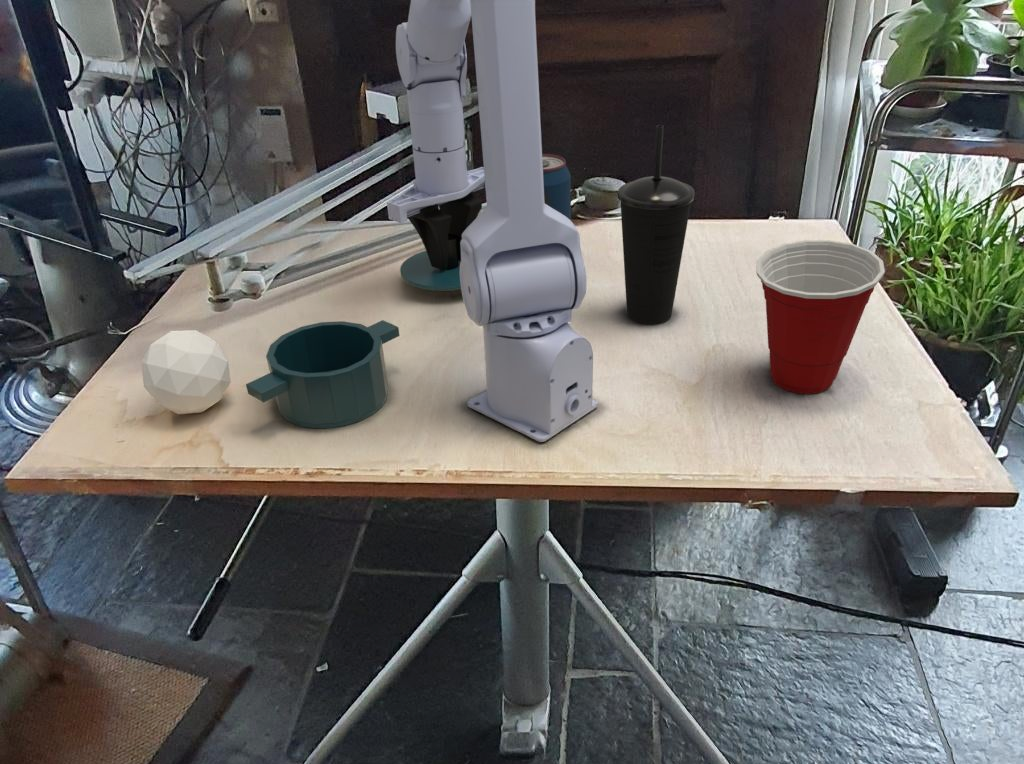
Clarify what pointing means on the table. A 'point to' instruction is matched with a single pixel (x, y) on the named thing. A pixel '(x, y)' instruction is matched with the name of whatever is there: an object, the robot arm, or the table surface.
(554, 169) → the soda can
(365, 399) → the pot
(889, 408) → the table surface
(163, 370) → the ball
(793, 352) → the plastic cup
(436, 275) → the lid
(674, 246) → the drinking cup
